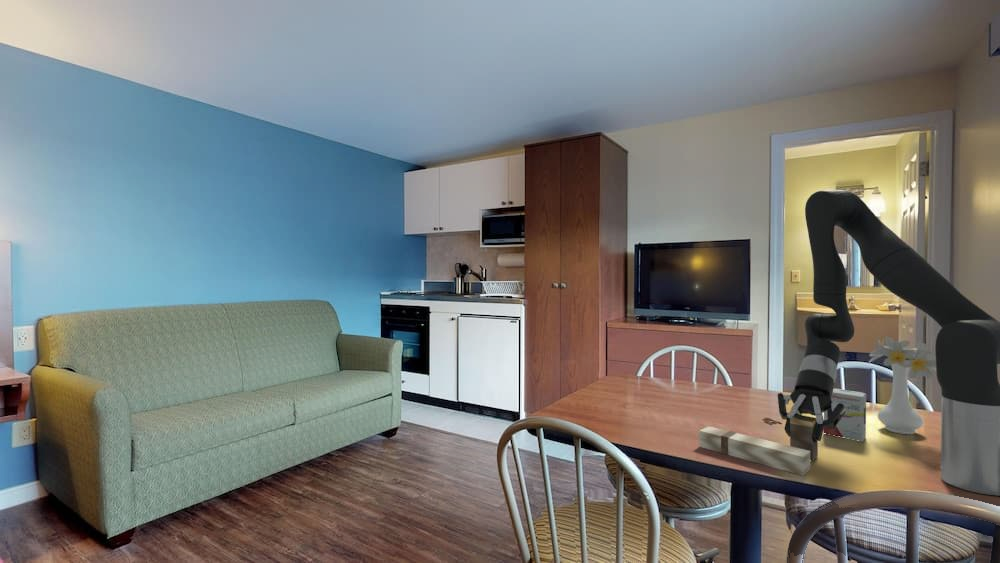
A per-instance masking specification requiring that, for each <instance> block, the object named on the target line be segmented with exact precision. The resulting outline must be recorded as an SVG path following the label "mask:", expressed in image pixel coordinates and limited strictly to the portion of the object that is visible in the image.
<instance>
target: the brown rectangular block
mask: <svg viewBox="0 0 1000 563" xmlns="http://www.w3.org/2000/svg"><path fill="white" fill-rule="evenodd" d="M816 423H817V421H816V417H815V416H807V415H803V414H802V415H798V414H796V415H794V416H792V417H791V418H790V437H789V446H792V447H796V448H800V449H804V450H809V451H810V460H811V461H813V460H814V459H815V458H816V457H817V456H818V454H819V453H818V452H819V451H818V450H819V446H818V445H819V441H818V442H817V443H815V442H813V440H812V435H813V430H814V426H815V424H816ZM817 458H818V457H817ZM817 458H816V459H817ZM816 459H815V460H816ZM815 460H814V461H815ZM814 461H813V462H814Z"/></svg>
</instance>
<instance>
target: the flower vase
mask: <svg viewBox="0 0 1000 563" xmlns="http://www.w3.org/2000/svg"><path fill="white" fill-rule="evenodd" d="M885 342H886V345H885V344H884V343H885ZM885 342H884V339H882V340H881V341H880V339H878V340H877V342H876V349H874V350H872V351H871V352H870V353H869V357H871V358H870V360H869V361H868V364H870V363H871V362H873V361H876V360H877V359H879V358H881V357H883V356H884V357H887V358H885V359H884V360H883V365H884V366H887V367H889V366H890V367H891V369H892V374H893V375H892V391H891V392H892V393H891V397H890V399H889V401H888V403H887V404H886V405H884V406H883V407H882V408H880V409H879V411H878V413H877V419H878V420H879V421H880V423H882V424H883V425H884V428H885V430H886V431H888V432H891V433H892V432H893V433H895V434H902V435H914V434H916V430H919V429H921V428H922V426H923V425H924V420H923V417H922V416H921V414H920V413H919V412H917V410H916V409H914V407H913V405H912V403H911V402H910V401H911V400H910V398H909V390H908V388H909V387H908V386H909V385H908V379H911V380H912V379H915V378H916V377H917V376H918V375H919V373H920V374H921V375H922V376H923V377H925V378H927V379H929V380H930V379H933V377H934V373H933V372H932V370H934V371H936V355H933V354H932V350H931V349H930V348H927V345H926V343H924V342H923V343H922V342H921V341H918V342H917V345H916V348H908V347H909V346H910V343H911V342H910V340H907V339H906V340H902V341H895V340H894V339H893V338H891V337H889V336H886V337H885ZM907 348H908V349H907ZM930 368H931V369H932V370H931V369H930Z"/></svg>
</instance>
